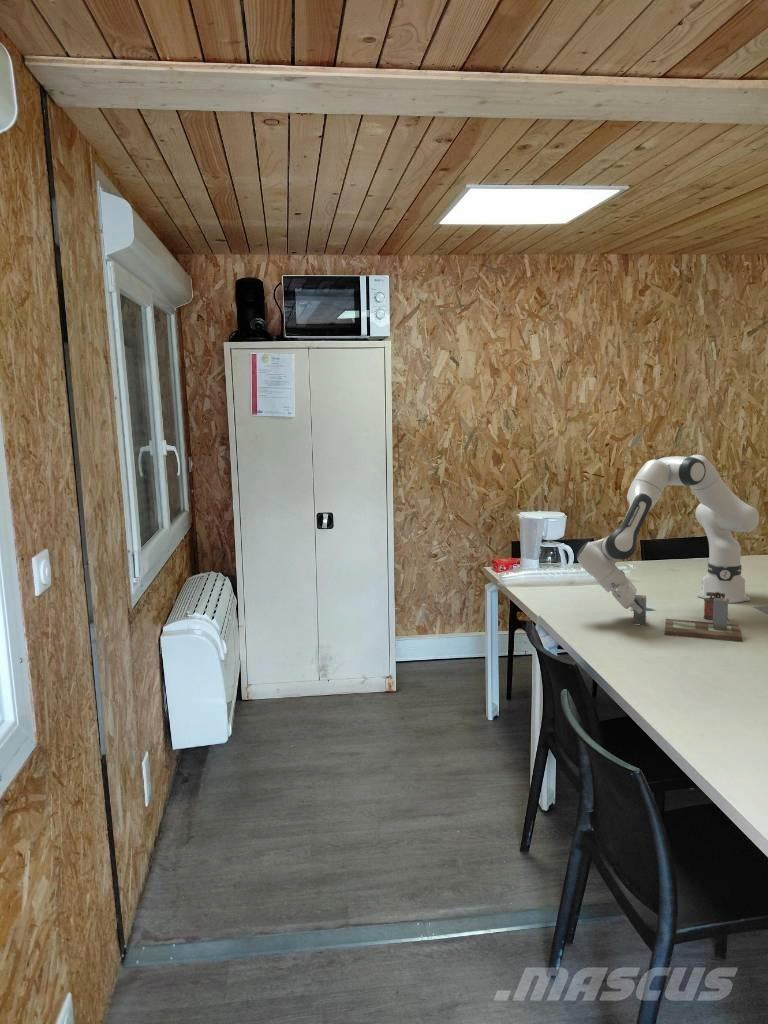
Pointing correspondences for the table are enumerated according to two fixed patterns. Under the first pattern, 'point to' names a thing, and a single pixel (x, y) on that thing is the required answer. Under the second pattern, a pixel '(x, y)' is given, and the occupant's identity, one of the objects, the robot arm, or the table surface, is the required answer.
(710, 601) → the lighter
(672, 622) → the pallet
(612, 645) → the table surface
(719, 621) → the block
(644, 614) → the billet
